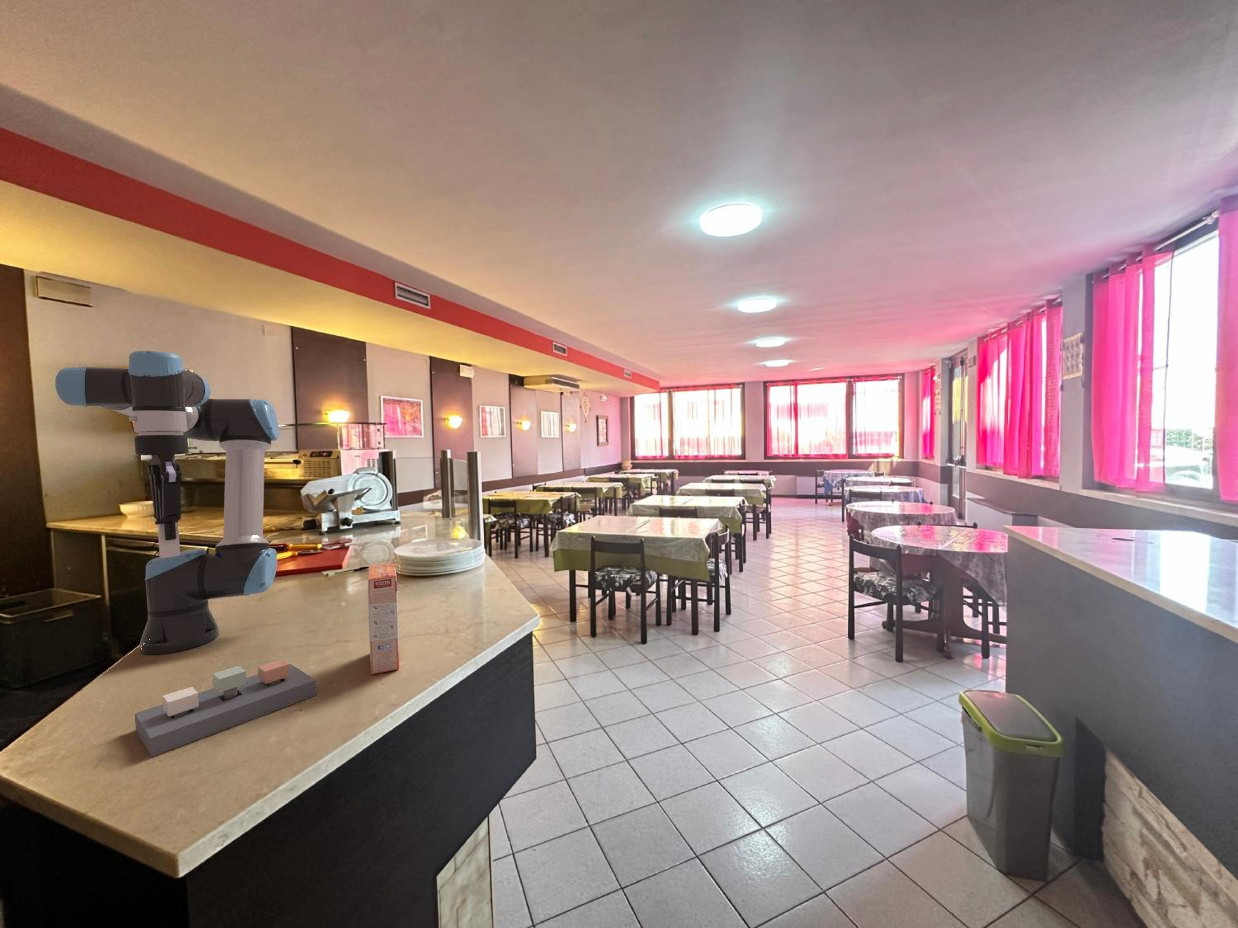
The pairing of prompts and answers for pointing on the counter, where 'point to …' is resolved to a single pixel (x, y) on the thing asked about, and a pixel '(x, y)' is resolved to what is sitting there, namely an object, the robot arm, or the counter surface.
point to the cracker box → (383, 618)
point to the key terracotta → (273, 672)
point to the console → (221, 711)
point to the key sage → (229, 681)
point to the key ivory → (180, 702)
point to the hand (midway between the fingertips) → (170, 555)
